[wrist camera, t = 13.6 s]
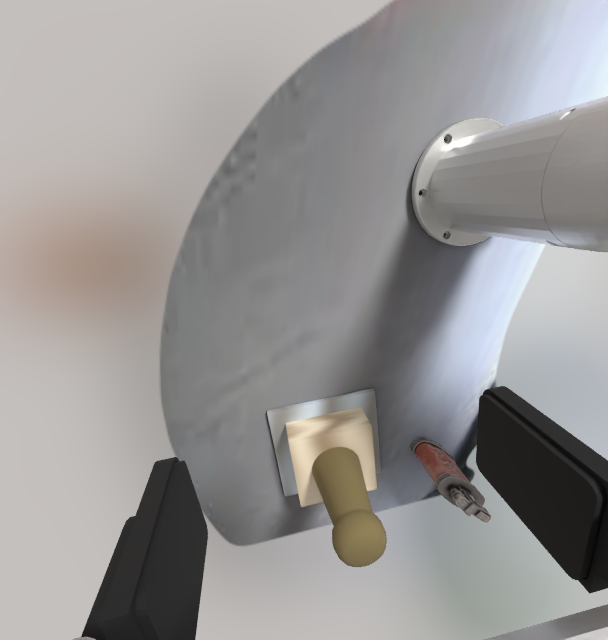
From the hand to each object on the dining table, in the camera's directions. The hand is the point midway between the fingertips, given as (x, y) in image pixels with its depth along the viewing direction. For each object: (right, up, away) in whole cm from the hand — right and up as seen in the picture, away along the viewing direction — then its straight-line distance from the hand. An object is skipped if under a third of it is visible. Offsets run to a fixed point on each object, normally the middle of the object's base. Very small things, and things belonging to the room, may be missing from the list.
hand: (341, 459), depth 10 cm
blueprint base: (+2, -12, +35) cm, 37 cm away
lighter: (+17, -15, +39) cm, 45 cm away
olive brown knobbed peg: (+3, -14, +31) cm, 34 cm away
